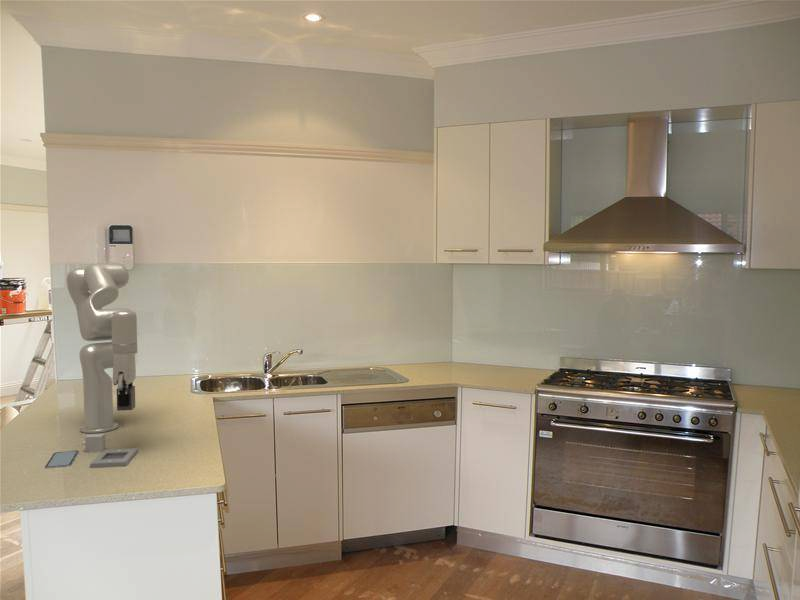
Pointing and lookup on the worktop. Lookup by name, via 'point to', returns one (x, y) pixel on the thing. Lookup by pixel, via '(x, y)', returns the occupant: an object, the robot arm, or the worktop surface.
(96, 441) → the cable plug
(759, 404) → the worktop surface
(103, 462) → the outlet plate
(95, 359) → the robot arm
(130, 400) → the block
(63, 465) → the smartphone
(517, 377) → the worktop surface
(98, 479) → the worktop surface
